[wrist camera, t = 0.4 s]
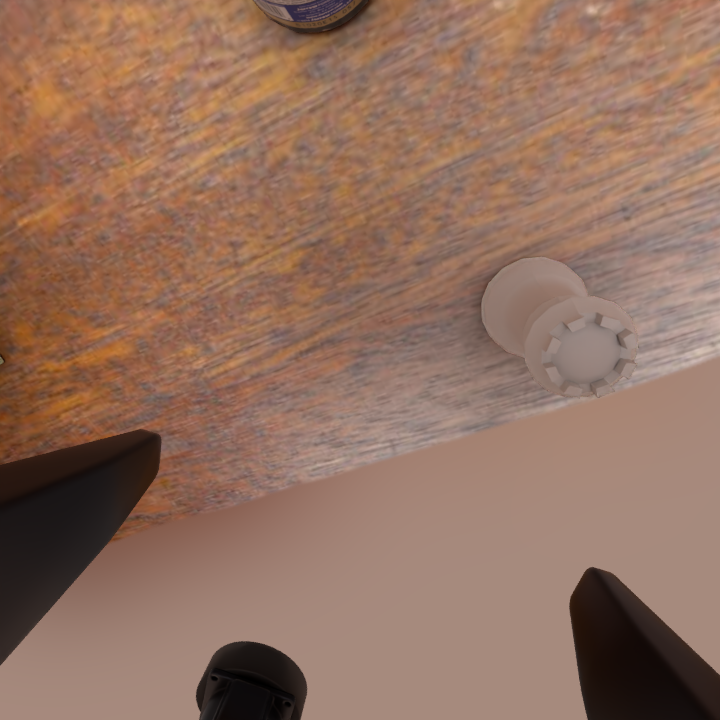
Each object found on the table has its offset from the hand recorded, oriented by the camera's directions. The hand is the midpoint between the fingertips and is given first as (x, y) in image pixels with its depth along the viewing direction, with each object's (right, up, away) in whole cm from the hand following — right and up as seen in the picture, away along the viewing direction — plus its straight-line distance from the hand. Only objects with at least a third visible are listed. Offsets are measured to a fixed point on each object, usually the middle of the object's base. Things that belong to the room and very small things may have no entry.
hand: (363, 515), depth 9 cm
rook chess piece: (+8, +6, +11) cm, 15 cm away
